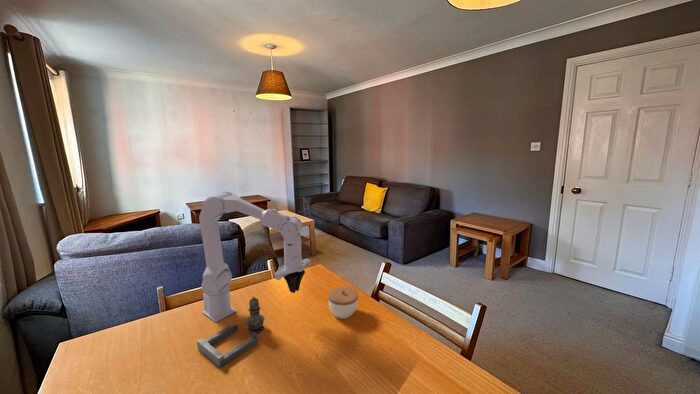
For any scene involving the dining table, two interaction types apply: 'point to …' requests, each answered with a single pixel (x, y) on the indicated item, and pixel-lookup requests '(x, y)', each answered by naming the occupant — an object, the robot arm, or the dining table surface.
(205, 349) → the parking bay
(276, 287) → the dining table surface
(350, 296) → the lidded jar
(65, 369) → the dining table surface
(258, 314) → the weathered grey candle holder
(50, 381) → the dining table surface
